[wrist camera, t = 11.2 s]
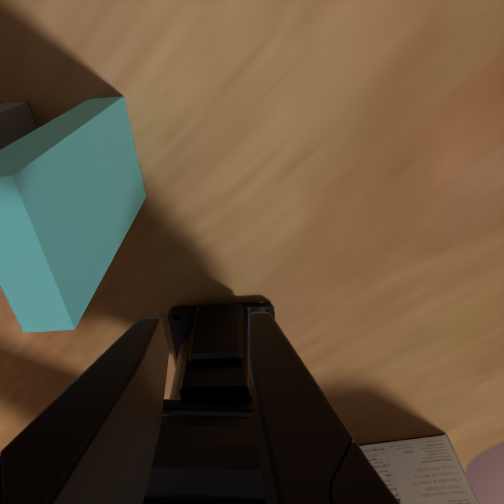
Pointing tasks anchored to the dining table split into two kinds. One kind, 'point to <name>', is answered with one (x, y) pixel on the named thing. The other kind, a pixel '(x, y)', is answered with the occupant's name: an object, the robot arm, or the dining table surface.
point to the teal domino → (66, 211)
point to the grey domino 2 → (15, 122)
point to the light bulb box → (421, 471)
